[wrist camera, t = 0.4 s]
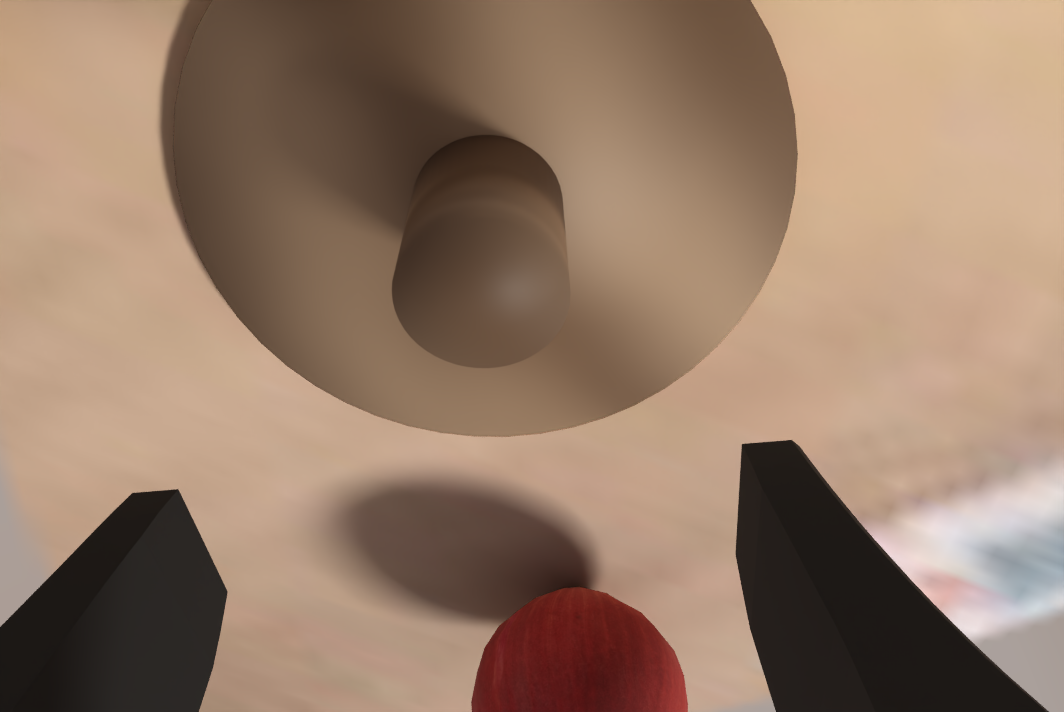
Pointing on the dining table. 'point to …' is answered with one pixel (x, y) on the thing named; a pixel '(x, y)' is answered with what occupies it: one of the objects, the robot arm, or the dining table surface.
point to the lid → (486, 195)
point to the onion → (578, 659)
